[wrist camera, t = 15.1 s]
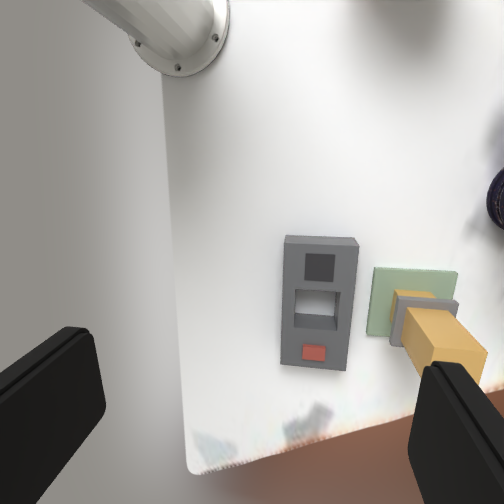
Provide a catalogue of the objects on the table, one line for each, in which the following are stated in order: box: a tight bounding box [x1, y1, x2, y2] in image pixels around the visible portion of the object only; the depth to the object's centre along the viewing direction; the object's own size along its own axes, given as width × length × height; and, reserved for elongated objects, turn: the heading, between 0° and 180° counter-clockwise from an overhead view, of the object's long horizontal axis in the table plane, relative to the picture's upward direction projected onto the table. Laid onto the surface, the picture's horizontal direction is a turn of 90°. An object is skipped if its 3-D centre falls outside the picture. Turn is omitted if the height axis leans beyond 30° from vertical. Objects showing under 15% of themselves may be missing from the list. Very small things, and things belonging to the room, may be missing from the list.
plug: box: [389, 289, 488, 385], centre depth 34 cm, size 6×6×13 cm
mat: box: [366, 267, 458, 337], centre depth 41 cm, size 10×10×1 cm
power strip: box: [280, 235, 359, 371], centre depth 41 cm, size 18×9×5 cm, turn 0°
